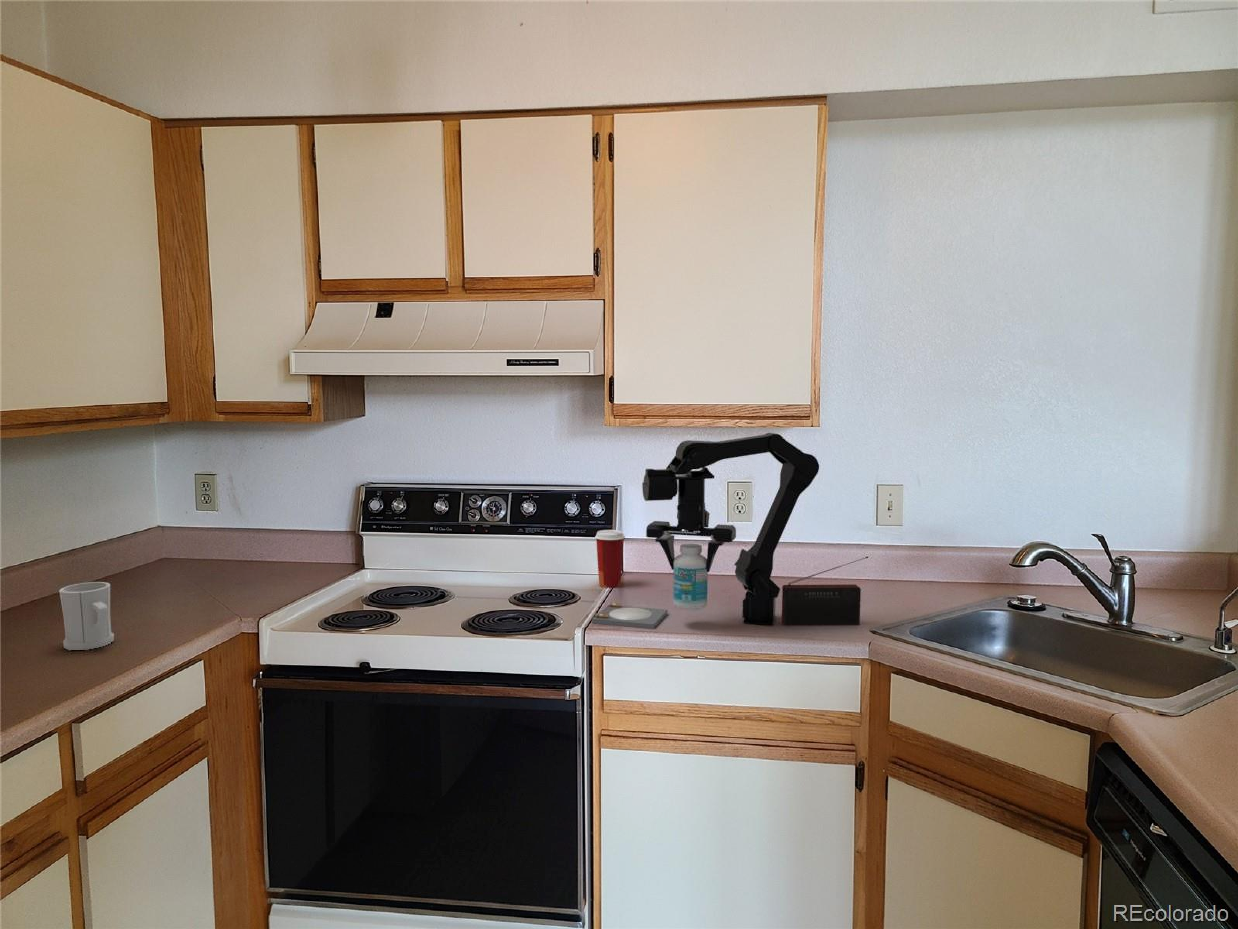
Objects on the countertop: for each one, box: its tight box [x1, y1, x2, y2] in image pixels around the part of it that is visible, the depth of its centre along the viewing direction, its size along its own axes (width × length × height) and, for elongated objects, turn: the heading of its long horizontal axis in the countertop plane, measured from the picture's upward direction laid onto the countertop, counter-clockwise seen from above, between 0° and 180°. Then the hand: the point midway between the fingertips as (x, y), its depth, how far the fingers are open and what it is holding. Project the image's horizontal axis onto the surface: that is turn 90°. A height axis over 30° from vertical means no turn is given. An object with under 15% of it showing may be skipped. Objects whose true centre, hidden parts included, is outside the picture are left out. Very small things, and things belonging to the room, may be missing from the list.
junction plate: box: [591, 602, 668, 630], centre depth 193 cm, size 14×12×2 cm
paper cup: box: [594, 529, 626, 589], centre depth 222 cm, size 8×8×14 cm
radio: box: [781, 556, 869, 627], centre depth 187 cm, size 19×3×15 cm, turn 91°
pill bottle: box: [672, 543, 709, 611], centre depth 186 cm, size 8×7×14 cm
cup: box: [58, 581, 115, 651], centre depth 174 cm, size 10×9×12 cm
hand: (690, 570), depth 186 cm, fingers closed on pill bottle, 7 cm apart
